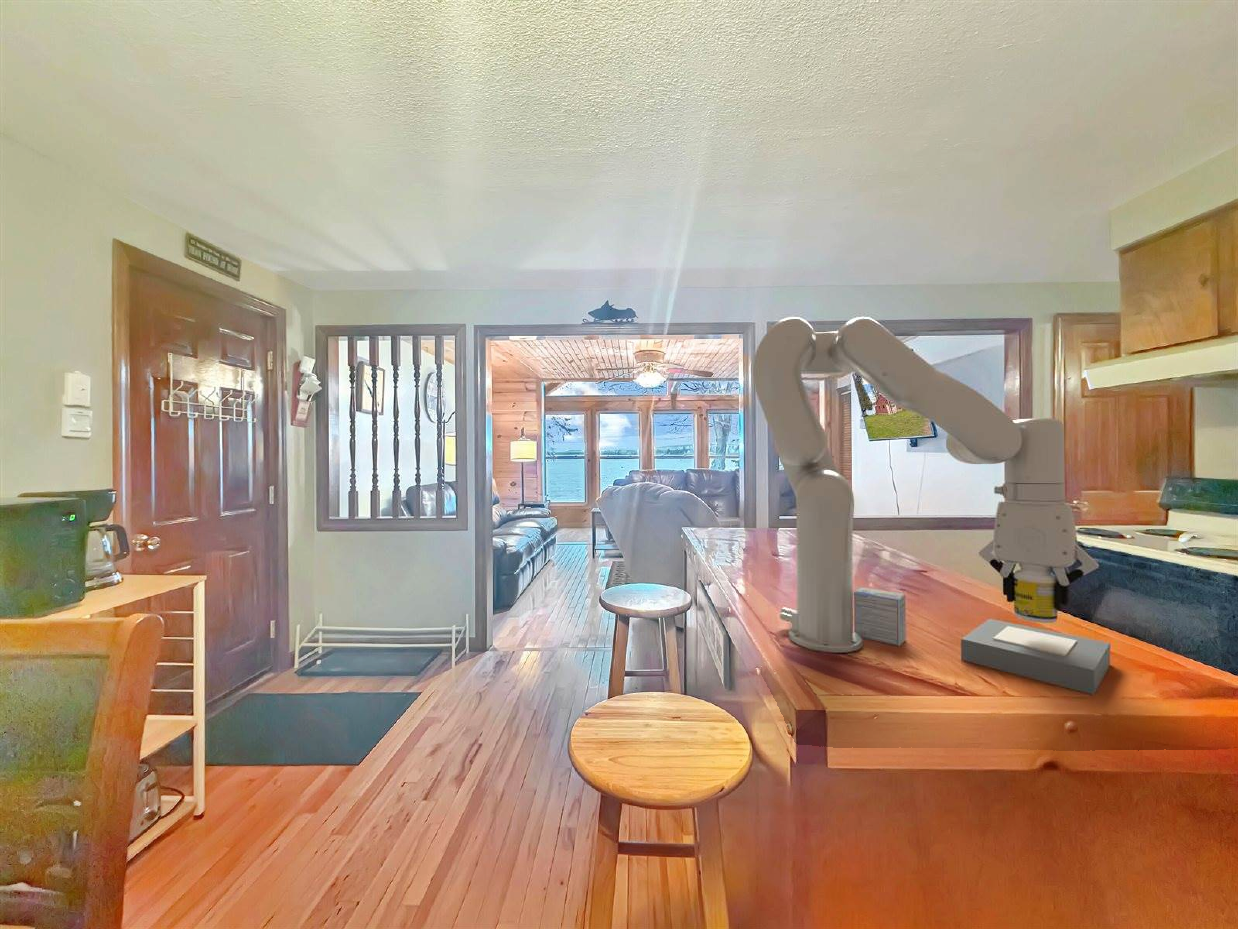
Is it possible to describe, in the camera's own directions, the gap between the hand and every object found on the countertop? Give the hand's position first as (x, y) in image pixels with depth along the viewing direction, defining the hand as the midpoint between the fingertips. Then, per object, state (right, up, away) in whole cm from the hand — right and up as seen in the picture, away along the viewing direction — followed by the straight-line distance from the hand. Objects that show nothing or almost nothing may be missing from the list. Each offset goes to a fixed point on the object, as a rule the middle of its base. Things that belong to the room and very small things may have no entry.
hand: (1035, 603), depth 80 cm
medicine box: (-19, -10, +11) cm, 25 cm away
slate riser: (0, -10, 0) cm, 10 cm away
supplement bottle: (0, -3, 0) cm, 3 cm away
